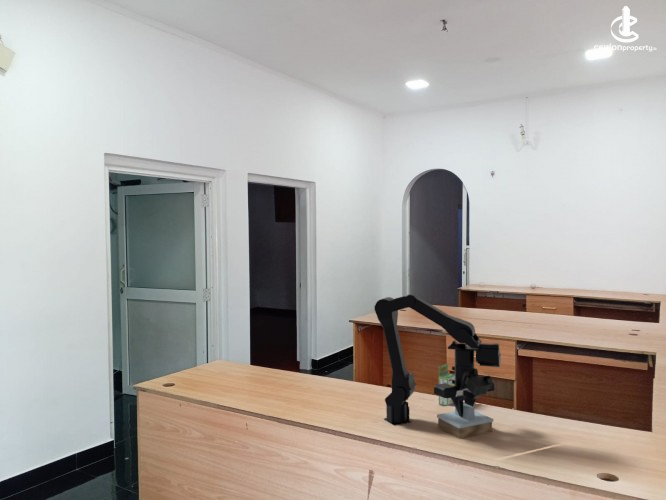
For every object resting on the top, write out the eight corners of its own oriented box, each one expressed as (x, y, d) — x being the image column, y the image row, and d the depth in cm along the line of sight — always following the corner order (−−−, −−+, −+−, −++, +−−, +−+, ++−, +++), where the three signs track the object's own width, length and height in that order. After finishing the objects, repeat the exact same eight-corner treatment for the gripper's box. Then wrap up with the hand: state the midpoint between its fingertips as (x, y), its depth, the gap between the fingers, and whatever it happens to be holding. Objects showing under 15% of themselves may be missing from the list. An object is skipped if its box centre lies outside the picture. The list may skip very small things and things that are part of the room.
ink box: (448, 407, 178) (448, 368, 178) (438, 405, 180) (438, 366, 180) (458, 402, 183) (457, 364, 183) (447, 400, 186) (447, 363, 186)
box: (459, 440, 148) (459, 427, 148) (438, 428, 157) (438, 417, 157) (491, 433, 154) (491, 421, 153) (469, 422, 163) (469, 411, 163)
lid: (459, 428, 148) (459, 413, 148) (436, 417, 158) (436, 403, 158) (493, 421, 153) (493, 407, 153) (469, 411, 163) (469, 397, 163)
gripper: (456, 374, 144) (456, 429, 144) (507, 366, 152) (507, 419, 152) (432, 365, 154) (433, 417, 154) (481, 359, 162) (481, 408, 162)
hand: (464, 416), depth 155 cm, fingers closed on lid, 2 cm apart
